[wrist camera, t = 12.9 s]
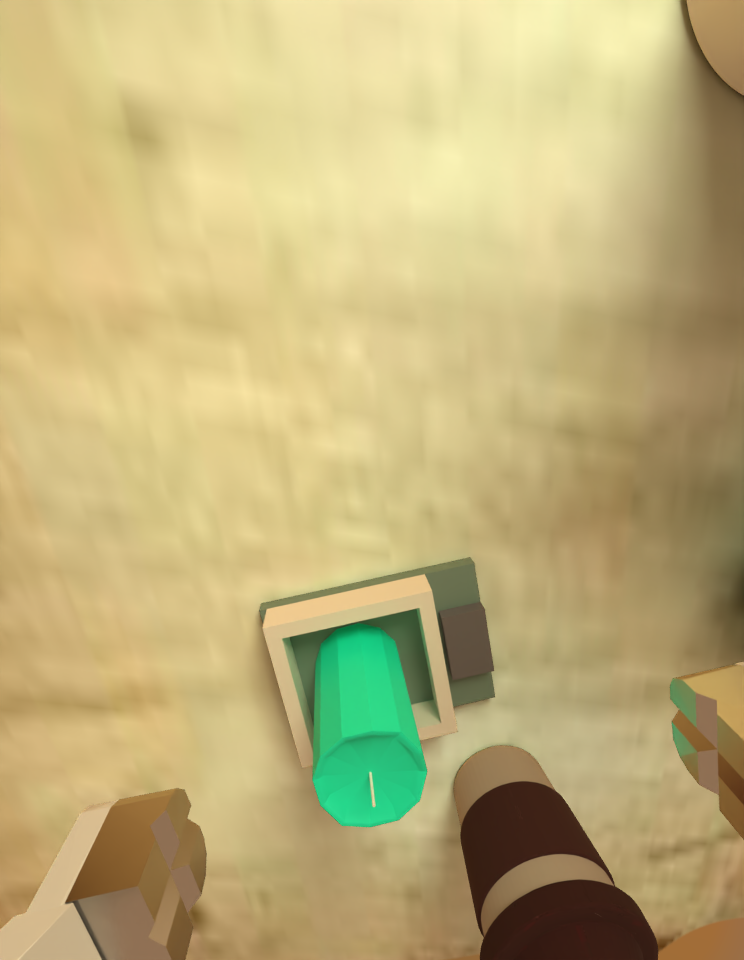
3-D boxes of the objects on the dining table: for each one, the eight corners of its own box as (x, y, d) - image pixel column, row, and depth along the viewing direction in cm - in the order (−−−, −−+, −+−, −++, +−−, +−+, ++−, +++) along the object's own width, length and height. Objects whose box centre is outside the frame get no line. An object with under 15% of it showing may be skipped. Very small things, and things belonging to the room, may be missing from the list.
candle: (372, 710, 38) (394, 870, 26) (300, 677, 37) (289, 829, 25) (415, 645, 37) (458, 782, 25) (342, 609, 36) (351, 735, 24)
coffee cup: (449, 722, 40) (521, 935, 25) (569, 732, 41) (703, 941, 27) (425, 826, 42) (478, 1076, 28) (539, 832, 43) (647, 1075, 29)
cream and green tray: (470, 557, 37) (485, 578, 33) (490, 688, 39) (506, 720, 36) (261, 603, 36) (254, 630, 33) (297, 733, 39) (294, 769, 35)
